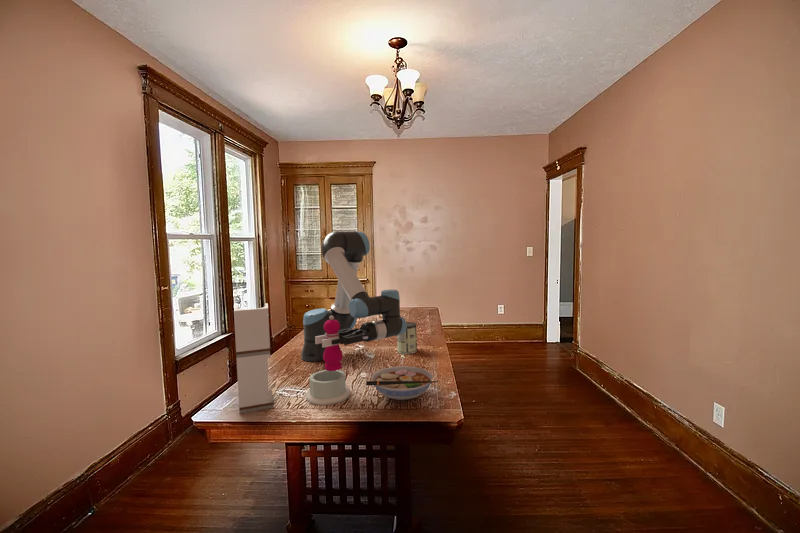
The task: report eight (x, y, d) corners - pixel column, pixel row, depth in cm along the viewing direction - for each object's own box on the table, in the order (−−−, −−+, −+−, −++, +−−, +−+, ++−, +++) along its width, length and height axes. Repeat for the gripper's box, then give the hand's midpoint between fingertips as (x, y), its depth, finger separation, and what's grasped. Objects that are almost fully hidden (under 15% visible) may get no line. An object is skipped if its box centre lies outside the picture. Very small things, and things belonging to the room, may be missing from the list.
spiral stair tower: (272, 408, 126) (268, 308, 124) (239, 413, 123) (233, 311, 120) (272, 395, 137) (267, 303, 135) (241, 400, 133) (236, 305, 131)
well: (299, 394, 137) (298, 374, 137) (337, 383, 147) (337, 365, 146) (317, 409, 124) (316, 388, 124) (357, 396, 134) (357, 376, 133)
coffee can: (403, 347, 195) (403, 321, 194) (420, 349, 190) (420, 323, 189) (393, 352, 187) (392, 325, 186) (410, 355, 181) (410, 327, 180)
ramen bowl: (433, 383, 145) (433, 363, 144) (440, 409, 122) (439, 386, 122) (371, 384, 145) (370, 364, 144) (365, 411, 122) (365, 387, 122)
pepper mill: (339, 372, 132) (337, 317, 131) (320, 371, 133) (318, 317, 132) (345, 365, 139) (344, 313, 138) (327, 364, 140) (325, 313, 139)
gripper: (385, 345, 140) (331, 358, 125) (360, 336, 154) (309, 346, 140) (385, 325, 139) (330, 336, 125) (360, 318, 153) (308, 327, 139)
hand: (319, 342), depth 132 cm, fingers closed on pepper mill, 5 cm apart
